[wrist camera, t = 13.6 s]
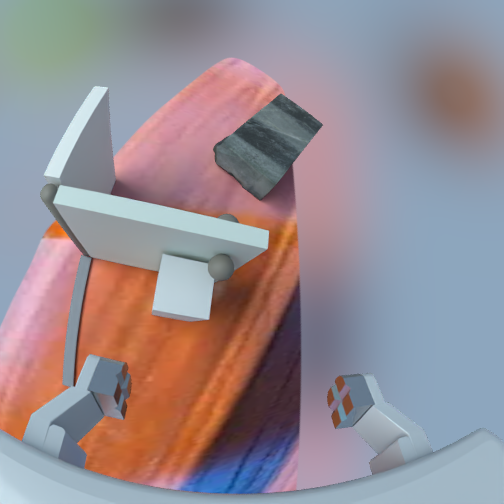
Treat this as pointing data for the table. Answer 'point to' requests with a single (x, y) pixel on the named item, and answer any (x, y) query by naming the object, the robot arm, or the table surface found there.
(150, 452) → the table surface
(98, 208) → the door
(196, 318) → the light grey block
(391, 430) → the robot arm
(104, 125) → the wall
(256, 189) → the stone block
